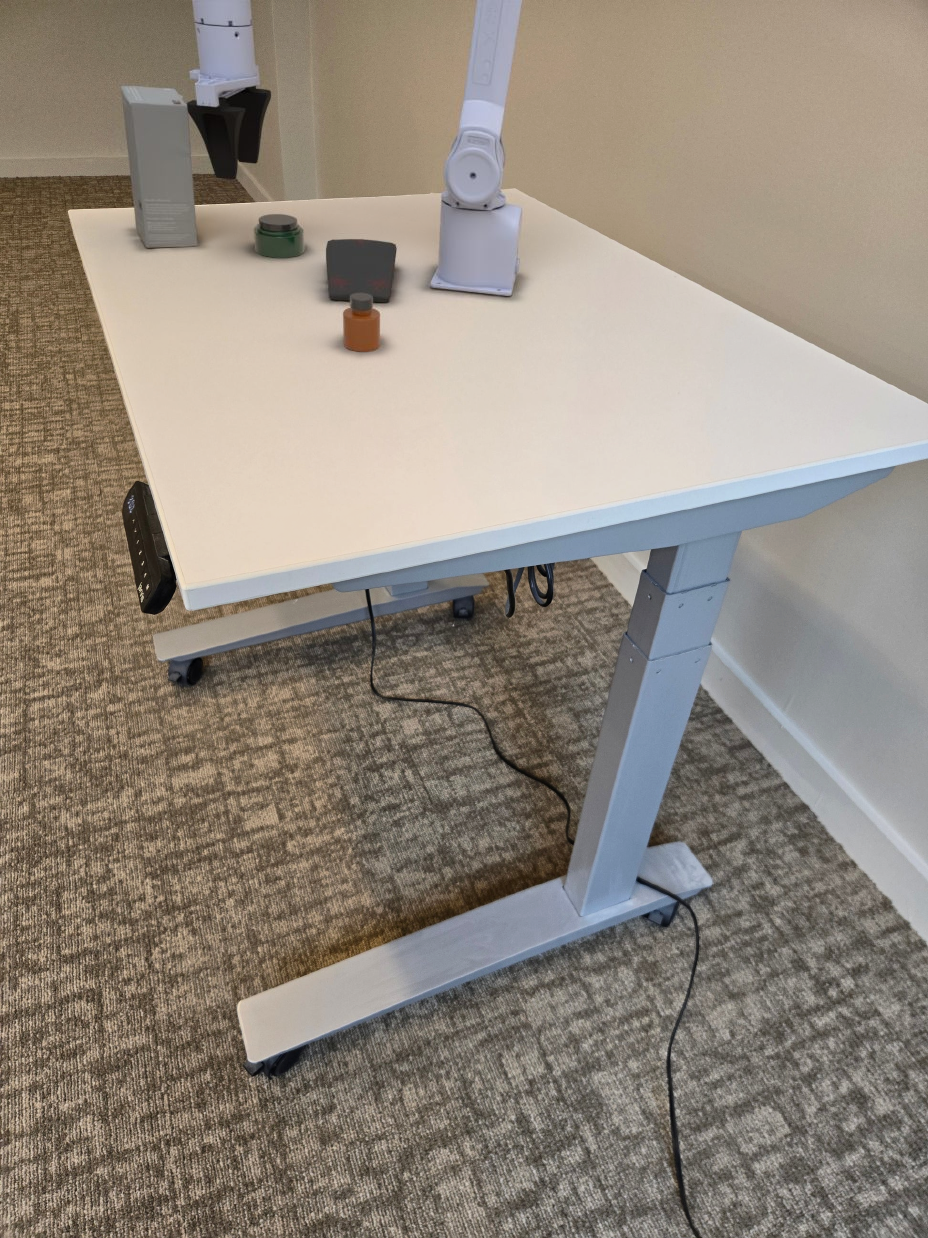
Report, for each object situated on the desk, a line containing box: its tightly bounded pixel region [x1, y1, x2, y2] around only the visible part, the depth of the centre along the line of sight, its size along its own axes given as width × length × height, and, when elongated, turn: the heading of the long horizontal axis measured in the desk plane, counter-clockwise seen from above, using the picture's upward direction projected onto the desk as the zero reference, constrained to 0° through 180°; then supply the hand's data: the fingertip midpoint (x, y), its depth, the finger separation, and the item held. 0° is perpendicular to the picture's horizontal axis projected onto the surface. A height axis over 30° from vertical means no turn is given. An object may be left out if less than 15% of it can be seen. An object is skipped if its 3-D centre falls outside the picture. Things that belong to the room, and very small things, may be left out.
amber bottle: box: [342, 293, 381, 353], centre depth 85 cm, size 4×4×5 cm
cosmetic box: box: [120, 85, 199, 249], centre depth 103 cm, size 8×7×16 cm
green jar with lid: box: [253, 213, 306, 259], centre depth 106 cm, size 6×6×4 cm
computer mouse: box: [325, 238, 398, 303], centre depth 99 cm, size 8×14×4 cm, turn 3°
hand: (237, 169), depth 97 cm, fingers open, 7 cm apart
